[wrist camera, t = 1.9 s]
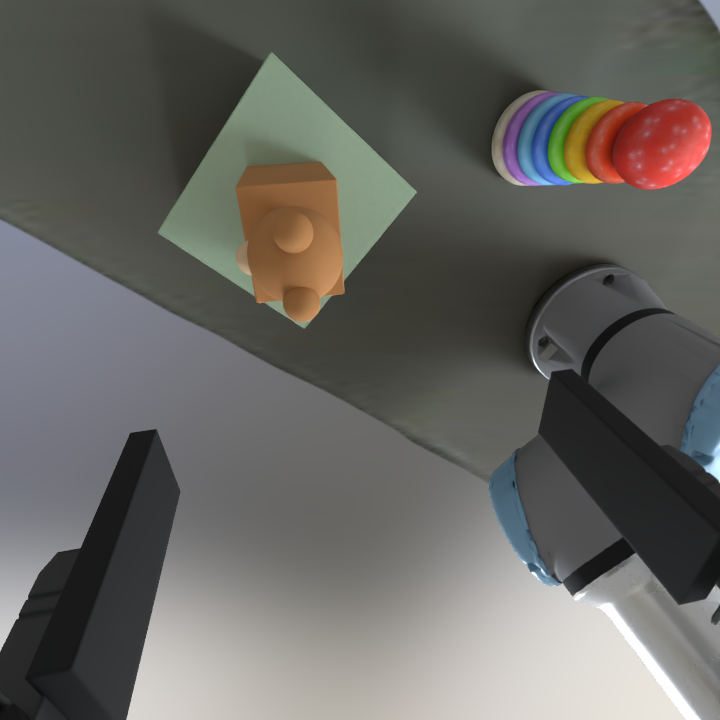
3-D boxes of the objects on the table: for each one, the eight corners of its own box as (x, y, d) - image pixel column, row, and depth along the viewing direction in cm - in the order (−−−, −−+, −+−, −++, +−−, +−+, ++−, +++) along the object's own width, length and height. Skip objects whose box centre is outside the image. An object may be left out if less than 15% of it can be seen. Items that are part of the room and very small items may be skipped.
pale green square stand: (387, 174, 41) (417, 192, 32) (299, 287, 45) (304, 329, 36) (272, 65, 35) (270, 50, 26) (183, 205, 39) (156, 232, 30)
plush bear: (321, 161, 30) (352, 195, 18) (329, 251, 33) (359, 333, 21) (240, 166, 29) (213, 206, 17) (255, 258, 32) (242, 346, 20)
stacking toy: (569, 167, 43) (742, 200, 27) (494, 195, 43) (621, 244, 27) (565, 77, 39) (766, 53, 23) (482, 108, 39) (624, 106, 23)
